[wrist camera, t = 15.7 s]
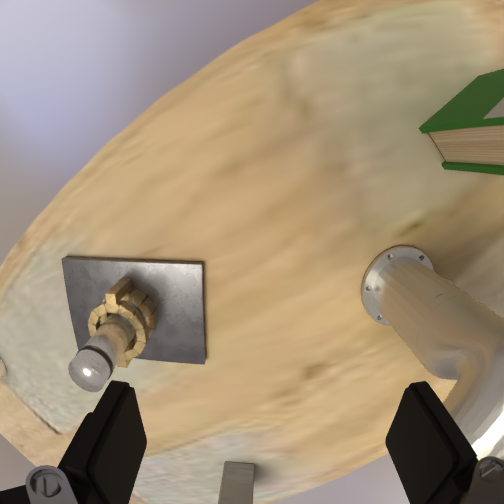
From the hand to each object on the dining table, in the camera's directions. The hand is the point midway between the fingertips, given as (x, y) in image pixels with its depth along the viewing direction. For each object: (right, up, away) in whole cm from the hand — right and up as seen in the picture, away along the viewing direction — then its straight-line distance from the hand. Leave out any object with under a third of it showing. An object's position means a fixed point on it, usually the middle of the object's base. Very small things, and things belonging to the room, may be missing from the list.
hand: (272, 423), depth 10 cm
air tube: (-18, -3, +35) cm, 40 cm away
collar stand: (-19, -3, +36) cm, 41 cm away
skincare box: (-4, -41, +47) cm, 62 cm away
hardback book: (+32, +26, +29) cm, 51 cm away
